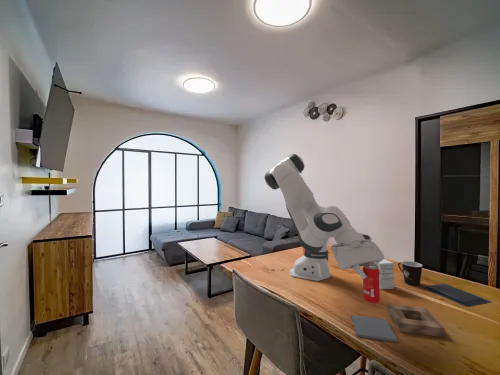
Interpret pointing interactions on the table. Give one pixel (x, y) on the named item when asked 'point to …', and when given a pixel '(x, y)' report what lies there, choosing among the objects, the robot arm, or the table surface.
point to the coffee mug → (411, 272)
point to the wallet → (456, 295)
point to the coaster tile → (373, 328)
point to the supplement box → (386, 274)
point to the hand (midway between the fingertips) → (372, 276)
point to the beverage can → (371, 284)
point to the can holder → (422, 326)
